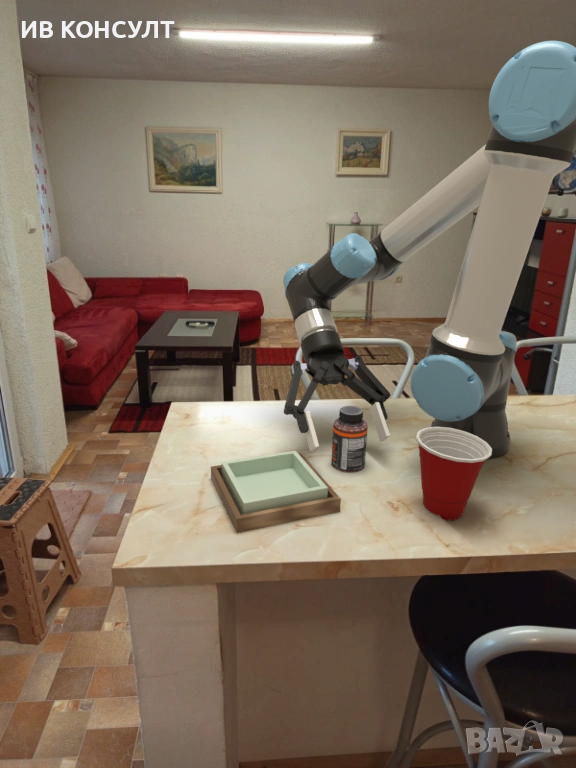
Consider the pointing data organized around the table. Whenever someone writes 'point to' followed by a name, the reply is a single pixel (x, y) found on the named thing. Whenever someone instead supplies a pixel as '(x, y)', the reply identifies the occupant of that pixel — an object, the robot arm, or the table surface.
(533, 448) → the table surface
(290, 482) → the grey-green crate
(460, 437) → the plastic cup
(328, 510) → the walnut crate
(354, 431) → the supplement bottle
